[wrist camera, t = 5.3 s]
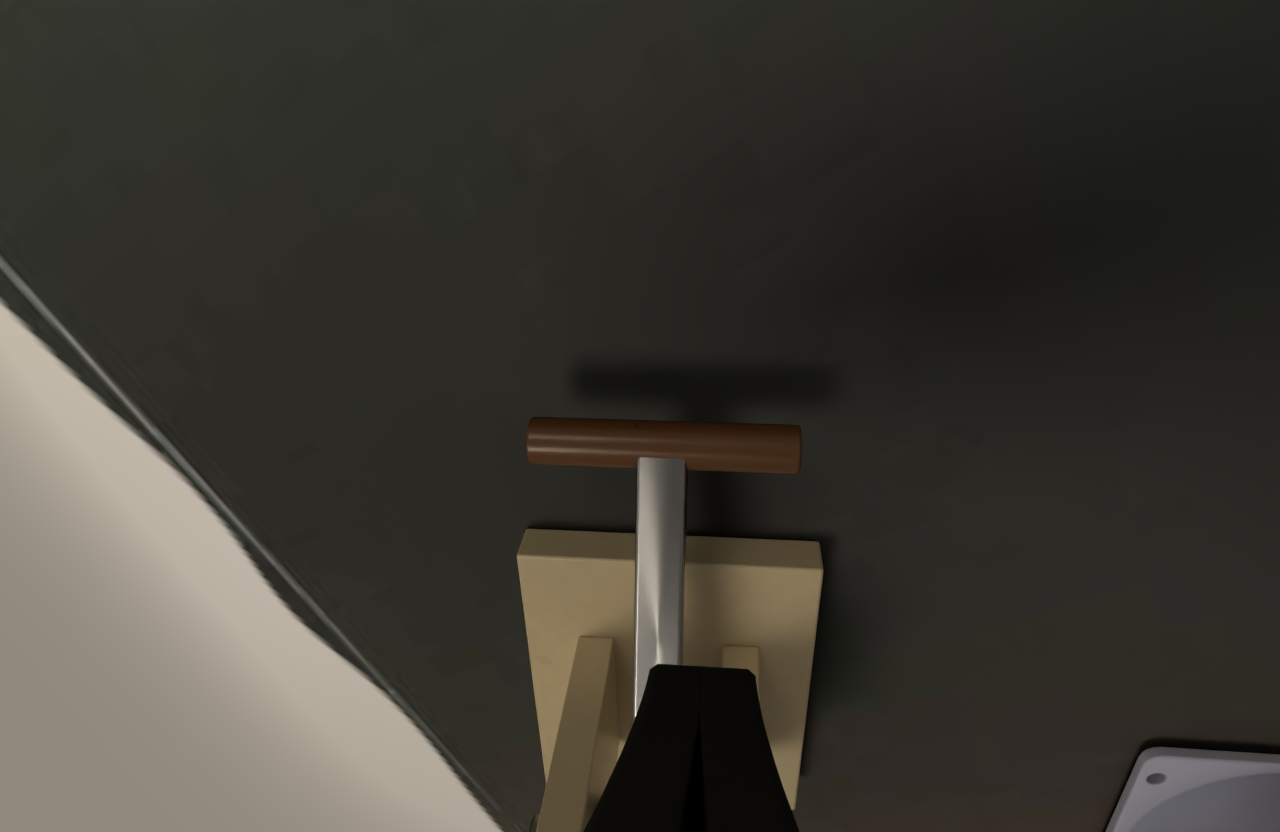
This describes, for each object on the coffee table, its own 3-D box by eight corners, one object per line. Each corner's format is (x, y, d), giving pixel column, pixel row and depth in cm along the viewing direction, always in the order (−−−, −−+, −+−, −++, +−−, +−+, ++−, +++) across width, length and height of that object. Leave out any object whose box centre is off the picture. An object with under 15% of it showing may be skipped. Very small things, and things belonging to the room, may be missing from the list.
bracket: (525, 526, 23) (439, 777, 16) (820, 540, 22) (857, 808, 15) (553, 761, 28) (496, 1024, 21) (792, 778, 27) (812, 1056, 20)
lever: (542, 409, 20) (518, 424, 17) (795, 417, 19) (805, 434, 17) (542, 864, 21) (519, 934, 19) (775, 884, 21) (782, 958, 19)
